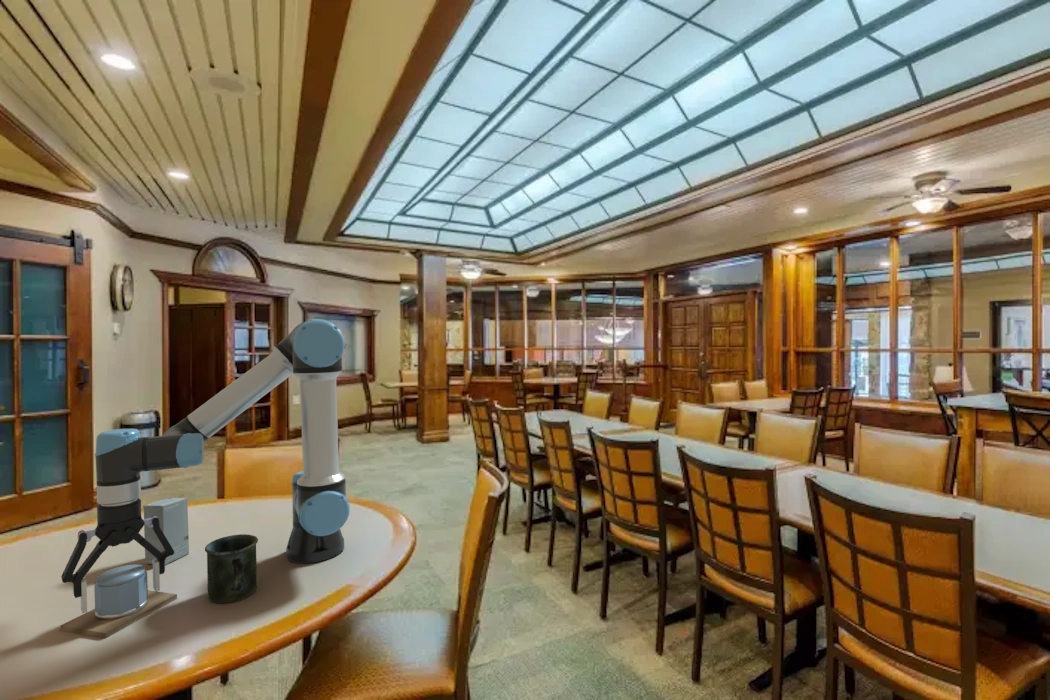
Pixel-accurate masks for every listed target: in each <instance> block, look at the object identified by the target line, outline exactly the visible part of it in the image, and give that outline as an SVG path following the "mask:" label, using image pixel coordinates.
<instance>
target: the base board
mask: <svg viewBox="0 0 1050 700" xmlns="http://www.w3.org/2000/svg"><path fill="white" fill-rule="evenodd" d="M177 599H178V594H176V593H171V592H164V591H157V592H156V591H155V590H149V589H148V599H147V605H146V606H145V607H144V608H143V609H142V610H140V611H138V612H136V613H134V614H132V615H129V616H126V617H123V618H119V619H114V620H98V619H96V618H95V608H93V609H91V610H89V611H87V612H86V613H82V614H81V615H79V616H77V617H75V618H72V619H70V620H68V621H67V622H64V623H63V624H61V625H60V626H59V627H60V628H59V629H60V631H61V632H62V631H63V632H69V633H75V634H80V635H86V636H91V637H97V638H102V639H103V638H104V639H107V638H108V637H110V636H112V635H114V634H116V633H117V632H119V631H121V630H123V629H125V628H127V627H129V626H130V625H133V624H134V623H135V622H138V621H139V620H141V619H143V618H145V617H146V616H149V615H150V614H152V613H153V612H155V611H157V610H160V609H161V608H163V607H164V606H166V605H169V604H170V603H171V602H174V601H175V600H177Z"/></svg>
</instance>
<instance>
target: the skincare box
mask: <svg viewBox="0 0 1050 700" xmlns="http://www.w3.org/2000/svg"><path fill="white" fill-rule="evenodd" d="M142 507H143V520H144V519H148V518H151V516H153V515H155V516H157V517H158V519H159V525H160V528H161V530H162V532H163V533H164V535H165V537H166V538H167V540H168V542H169V543H170V545H171V547H172V548H173V550H174V554H173V555H171V556H168V557H167V558H166V560H165V566H167V565H168V564H171V563H172V562H175V561H176V560H179V559H180V558H182V557H184V556H187V555H188V554H190V544H189V543H190V542H189V540H190V538H189V513H188V511H189V510H188V507H189V506H188V498H187V497H168V498H164V499H161V500H156V501H154V502H151V503H148V504H145V505H143V506H142ZM143 530H144V533H143V534H144V538H145V539H146V540H147V541H149V542H150V543H151V544H152V545H153V546H154V547H156V548H157V549H158V550H159V551H160V552H163V551H164V550H165V549H164V548H163V546H162V544H161V543H160V541H159V539H158V538H157V536H156V534H155V533H154V531H153V529H152V528H149V527H148V526H147V525H144V526H143ZM144 556H145V558H144V559H145V560H144V561H145V564H150V565H153V559H157V558H156V557H155V556H154V555H152V554H151V553H150V552H149V551H147V550H146V549H145V548H144Z"/></svg>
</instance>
